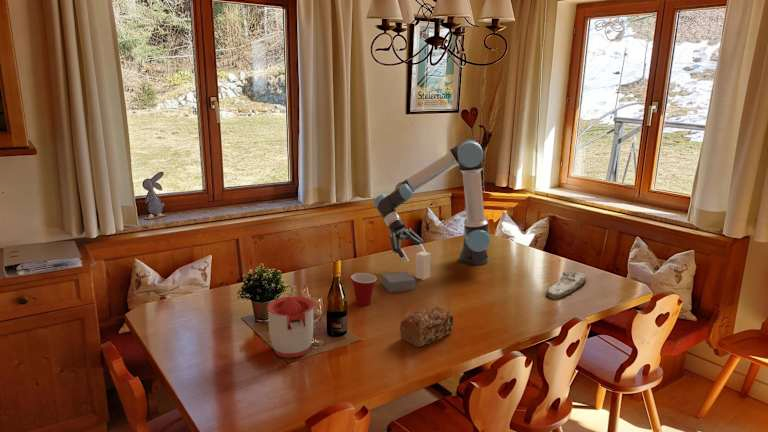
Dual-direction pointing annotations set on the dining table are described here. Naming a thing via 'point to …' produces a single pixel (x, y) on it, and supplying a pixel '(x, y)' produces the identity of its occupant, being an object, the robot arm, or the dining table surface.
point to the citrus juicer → (291, 325)
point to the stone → (566, 284)
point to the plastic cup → (363, 287)
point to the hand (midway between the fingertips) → (416, 259)
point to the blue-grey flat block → (398, 281)
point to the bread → (426, 326)
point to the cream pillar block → (423, 265)
